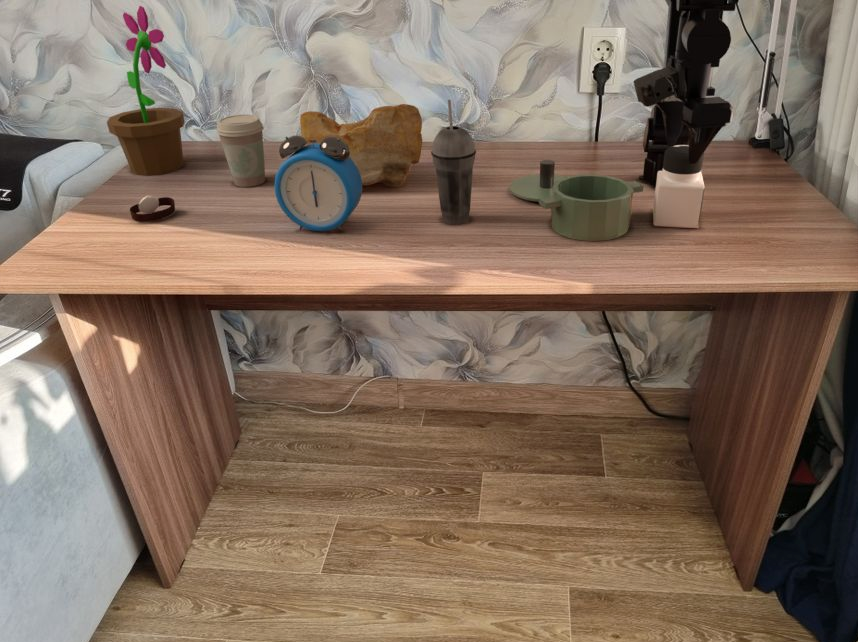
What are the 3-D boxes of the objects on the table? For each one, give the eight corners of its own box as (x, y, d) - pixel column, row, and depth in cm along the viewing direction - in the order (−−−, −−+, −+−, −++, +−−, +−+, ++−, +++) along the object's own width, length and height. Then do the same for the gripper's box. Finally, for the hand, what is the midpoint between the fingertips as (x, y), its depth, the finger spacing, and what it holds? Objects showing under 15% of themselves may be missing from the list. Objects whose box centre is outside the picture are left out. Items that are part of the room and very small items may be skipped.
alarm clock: (280, 231, 121) (265, 141, 113) (293, 217, 126) (279, 130, 118) (356, 234, 119) (346, 143, 111) (367, 220, 124) (358, 132, 116)
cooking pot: (523, 221, 122) (524, 183, 119) (615, 204, 128) (618, 167, 125) (560, 249, 112) (562, 209, 109) (658, 229, 118) (662, 191, 115)
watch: (170, 207, 131) (165, 188, 129) (182, 214, 128) (177, 194, 126) (128, 219, 127) (122, 199, 125) (139, 226, 124) (133, 206, 122)
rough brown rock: (440, 171, 147) (435, 93, 140) (421, 194, 132) (415, 108, 126) (330, 171, 151) (320, 95, 144) (300, 193, 136) (288, 110, 129)
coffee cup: (218, 186, 140) (204, 123, 133) (245, 172, 146) (233, 112, 140) (255, 191, 137) (243, 127, 131) (281, 177, 144) (271, 115, 137)
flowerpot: (208, 162, 152) (175, 5, 136) (151, 183, 142) (107, 15, 126) (164, 152, 159) (127, 1, 143) (106, 171, 149) (59, 11, 133)
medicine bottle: (698, 229, 118) (710, 156, 112) (653, 226, 119) (662, 154, 113) (695, 212, 124) (706, 142, 117) (652, 210, 125) (661, 140, 119)
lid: (497, 185, 137) (497, 156, 134) (560, 175, 141) (562, 146, 138) (530, 210, 126) (530, 179, 123) (597, 198, 131) (600, 167, 128)
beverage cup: (482, 213, 125) (481, 94, 115) (469, 230, 120) (466, 105, 109) (443, 209, 128) (438, 91, 117) (427, 225, 122) (421, 102, 111)
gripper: (623, 41, 115) (614, 140, 123) (665, 65, 99) (652, 177, 107) (691, 38, 116) (678, 136, 124) (744, 61, 100) (724, 172, 108)
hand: (681, 154), depth 116 cm, fingers open, 9 cm apart
